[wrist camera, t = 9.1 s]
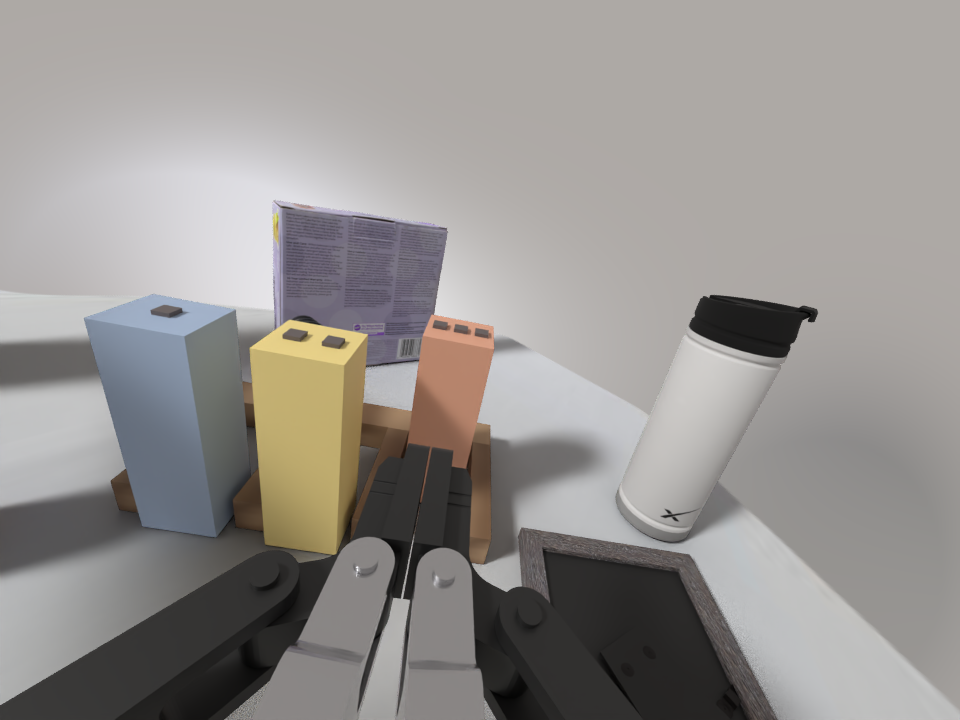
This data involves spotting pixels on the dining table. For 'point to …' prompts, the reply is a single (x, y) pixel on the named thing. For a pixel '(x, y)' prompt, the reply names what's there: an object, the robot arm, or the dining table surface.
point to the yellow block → (308, 432)
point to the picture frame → (645, 625)
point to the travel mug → (705, 410)
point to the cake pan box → (357, 275)
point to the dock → (391, 437)
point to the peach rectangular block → (450, 386)
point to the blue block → (175, 408)
